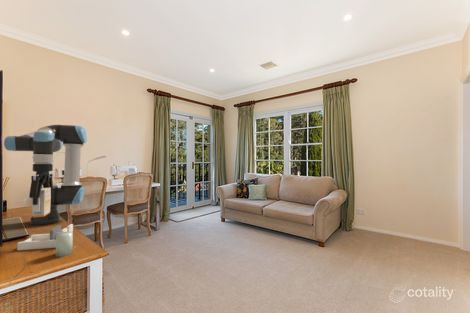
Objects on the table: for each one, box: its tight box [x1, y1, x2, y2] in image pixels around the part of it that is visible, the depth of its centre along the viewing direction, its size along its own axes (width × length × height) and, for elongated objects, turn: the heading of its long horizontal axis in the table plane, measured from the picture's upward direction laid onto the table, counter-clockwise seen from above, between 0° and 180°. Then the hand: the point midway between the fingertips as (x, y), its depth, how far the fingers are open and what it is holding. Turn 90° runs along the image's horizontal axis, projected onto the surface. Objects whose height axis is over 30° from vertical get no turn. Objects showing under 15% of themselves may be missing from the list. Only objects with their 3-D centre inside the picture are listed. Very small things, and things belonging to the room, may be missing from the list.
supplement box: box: [31, 188, 51, 217], centre depth 111 cm, size 8×5×13 cm, turn 23°
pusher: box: [49, 224, 62, 240], centre depth 113 cm, size 8×6×7 cm
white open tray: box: [16, 223, 74, 251], centre depth 111 cm, size 11×18×8 cm, turn 105°
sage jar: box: [55, 231, 74, 258], centre depth 101 cm, size 6×6×9 cm
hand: (41, 209), depth 111 cm, fingers closed on supplement box, 9 cm apart
